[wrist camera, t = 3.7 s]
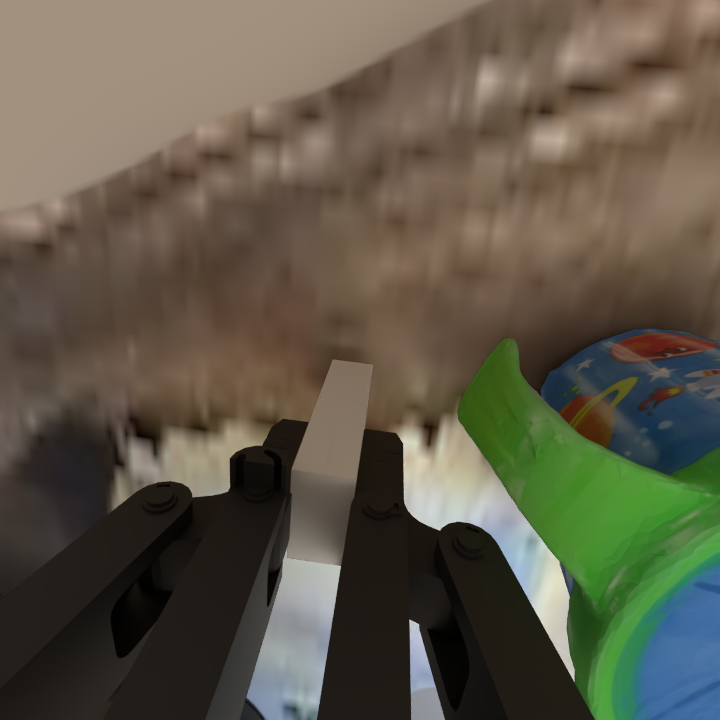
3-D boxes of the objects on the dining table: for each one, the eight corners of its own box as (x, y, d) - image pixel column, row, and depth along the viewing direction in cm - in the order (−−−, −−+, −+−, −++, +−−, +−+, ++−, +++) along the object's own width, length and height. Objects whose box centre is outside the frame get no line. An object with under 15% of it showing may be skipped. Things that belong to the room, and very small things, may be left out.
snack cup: (880, 419, 16) (1513, 732, 7) (661, 576, 20) (884, 913, 11) (570, 177, 14) (898, 171, 5) (388, 405, 18) (377, 647, 9)
